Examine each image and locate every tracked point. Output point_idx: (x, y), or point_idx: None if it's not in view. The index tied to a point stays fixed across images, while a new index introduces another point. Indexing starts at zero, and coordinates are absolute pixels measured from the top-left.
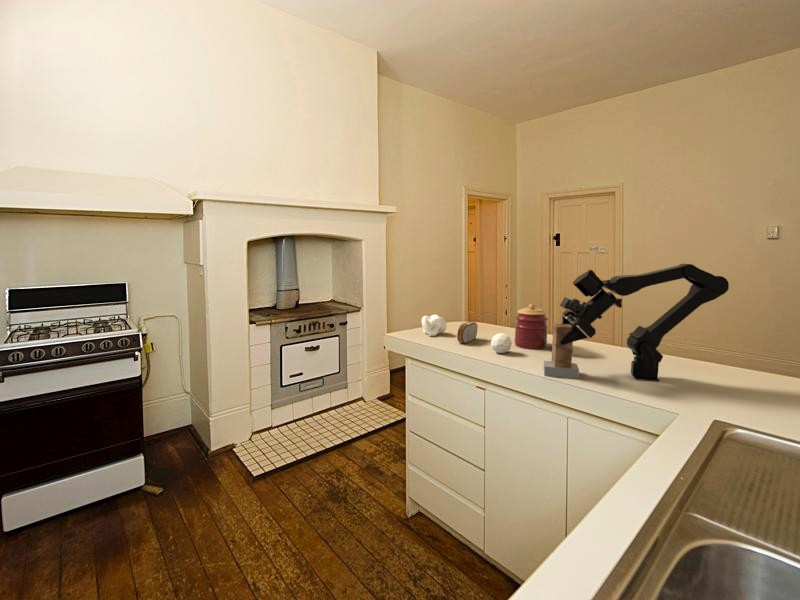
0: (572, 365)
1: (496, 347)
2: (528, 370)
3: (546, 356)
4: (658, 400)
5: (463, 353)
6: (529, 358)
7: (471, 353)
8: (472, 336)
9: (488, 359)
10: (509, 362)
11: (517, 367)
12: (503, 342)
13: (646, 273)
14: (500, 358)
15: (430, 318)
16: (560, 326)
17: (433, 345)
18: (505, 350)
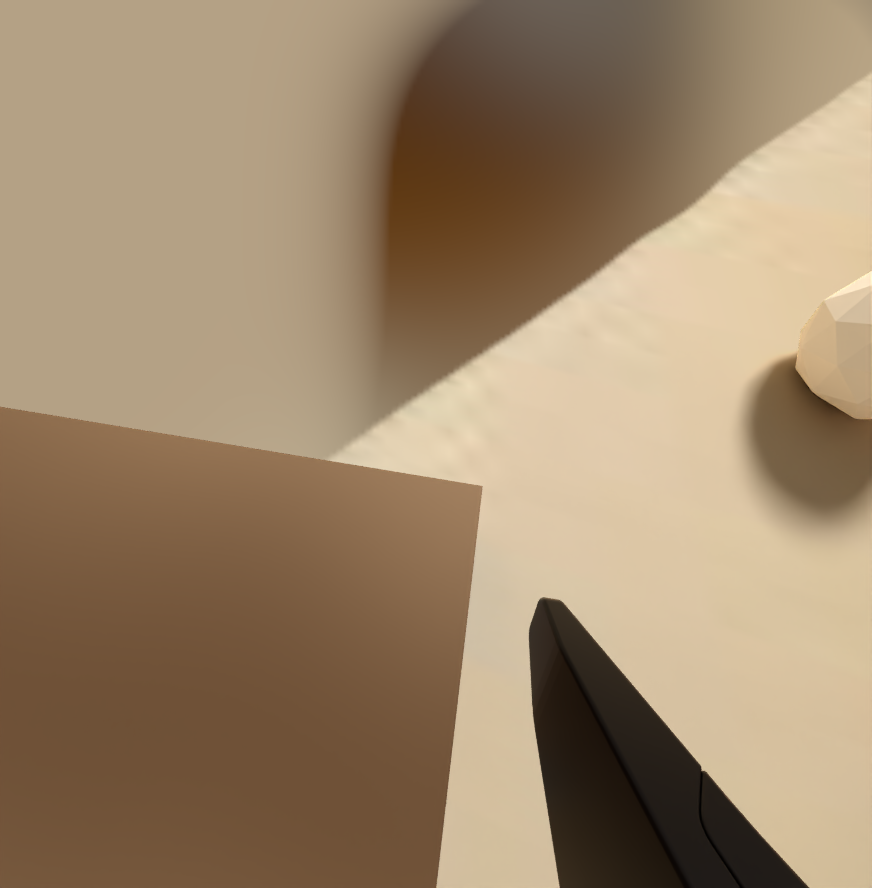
0: None
1: (814, 313)
2: (446, 431)
3: (827, 686)
4: None
5: (747, 196)
6: (731, 525)
7: (759, 229)
8: None
9: (653, 280)
10: (609, 371)
11: (507, 386)
12: (854, 325)
13: None
14: (689, 344)
15: None
16: (4, 551)
17: (862, 110)
18: (808, 377)
